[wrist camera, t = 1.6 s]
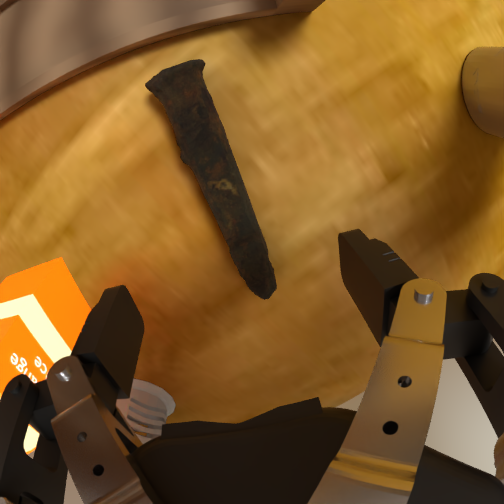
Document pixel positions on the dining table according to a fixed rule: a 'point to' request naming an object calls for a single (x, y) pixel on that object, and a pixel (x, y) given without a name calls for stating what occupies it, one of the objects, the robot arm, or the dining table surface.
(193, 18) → the cradle
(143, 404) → the french press
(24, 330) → the orange juice
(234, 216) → the hand tool
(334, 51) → the dining table surface
